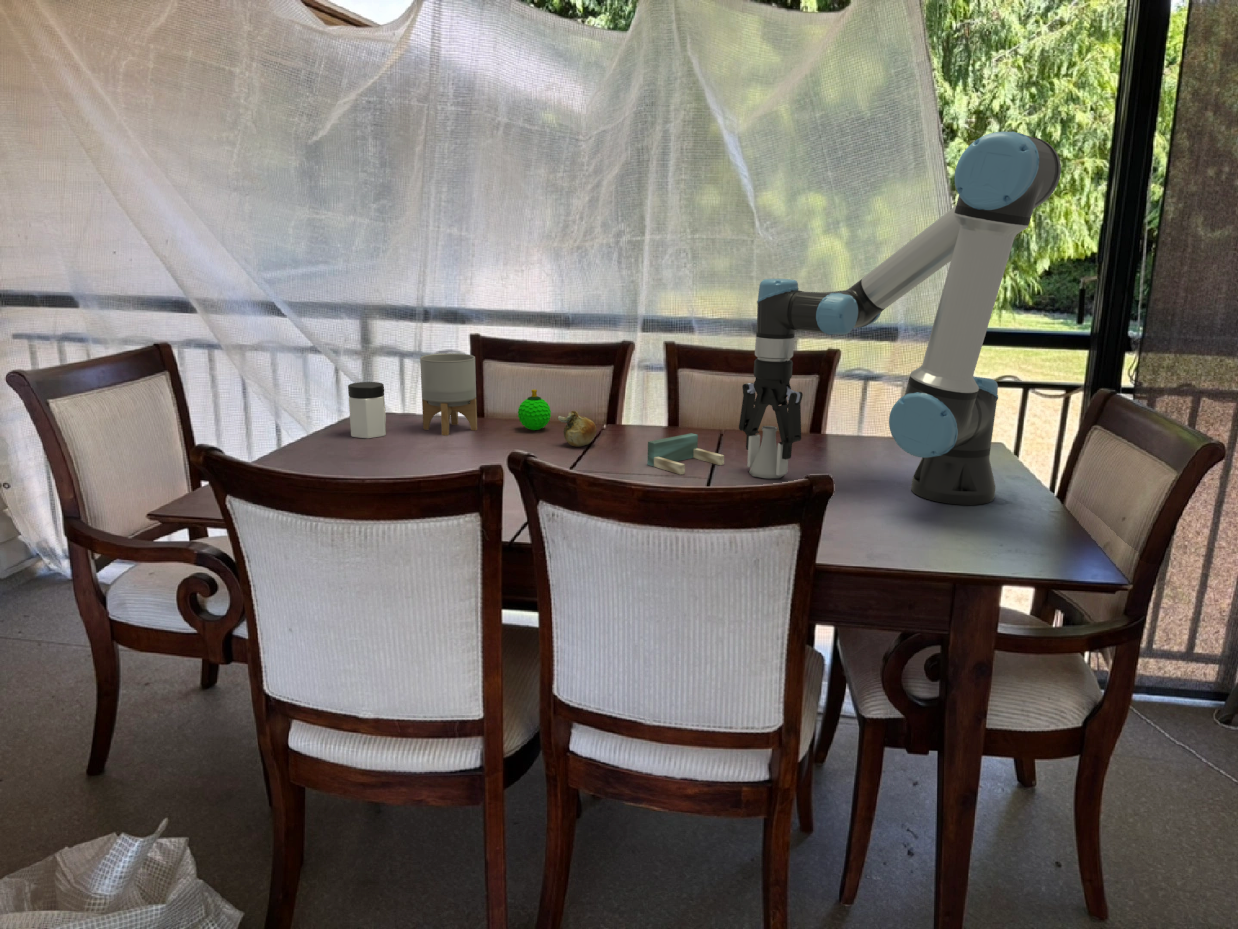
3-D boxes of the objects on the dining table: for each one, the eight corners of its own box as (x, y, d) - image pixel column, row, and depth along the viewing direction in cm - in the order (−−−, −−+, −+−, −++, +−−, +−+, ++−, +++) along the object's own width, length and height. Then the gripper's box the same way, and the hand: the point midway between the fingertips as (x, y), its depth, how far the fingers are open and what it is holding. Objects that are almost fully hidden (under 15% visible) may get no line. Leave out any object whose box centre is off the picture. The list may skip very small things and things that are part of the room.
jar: (386, 438, 210) (383, 387, 207) (349, 439, 208) (346, 388, 205) (387, 429, 218) (384, 380, 215) (352, 430, 217) (349, 381, 213)
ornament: (522, 425, 225) (521, 386, 222) (554, 427, 224) (554, 387, 221) (514, 433, 217) (513, 392, 214) (547, 434, 216) (546, 393, 213)
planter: (472, 436, 213) (469, 361, 209) (417, 435, 213) (414, 360, 209) (481, 424, 226) (479, 353, 221) (429, 423, 226) (426, 352, 221)
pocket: (723, 464, 191) (725, 441, 190) (680, 474, 183) (681, 451, 182) (690, 455, 199) (691, 433, 197) (647, 464, 190) (647, 441, 189)
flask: (784, 480, 180) (787, 432, 177) (747, 478, 181) (750, 430, 179) (785, 471, 187) (788, 424, 184) (750, 469, 188) (752, 422, 185)
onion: (577, 451, 200) (577, 416, 198) (555, 444, 206) (555, 410, 204) (603, 446, 205) (603, 412, 203) (581, 439, 211) (581, 406, 209)
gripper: (826, 362, 173) (817, 477, 179) (748, 351, 187) (742, 457, 193) (802, 366, 168) (794, 484, 174) (723, 353, 182) (718, 462, 188)
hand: (767, 469), depth 184 cm, fingers closed on flask, 7 cm apart
